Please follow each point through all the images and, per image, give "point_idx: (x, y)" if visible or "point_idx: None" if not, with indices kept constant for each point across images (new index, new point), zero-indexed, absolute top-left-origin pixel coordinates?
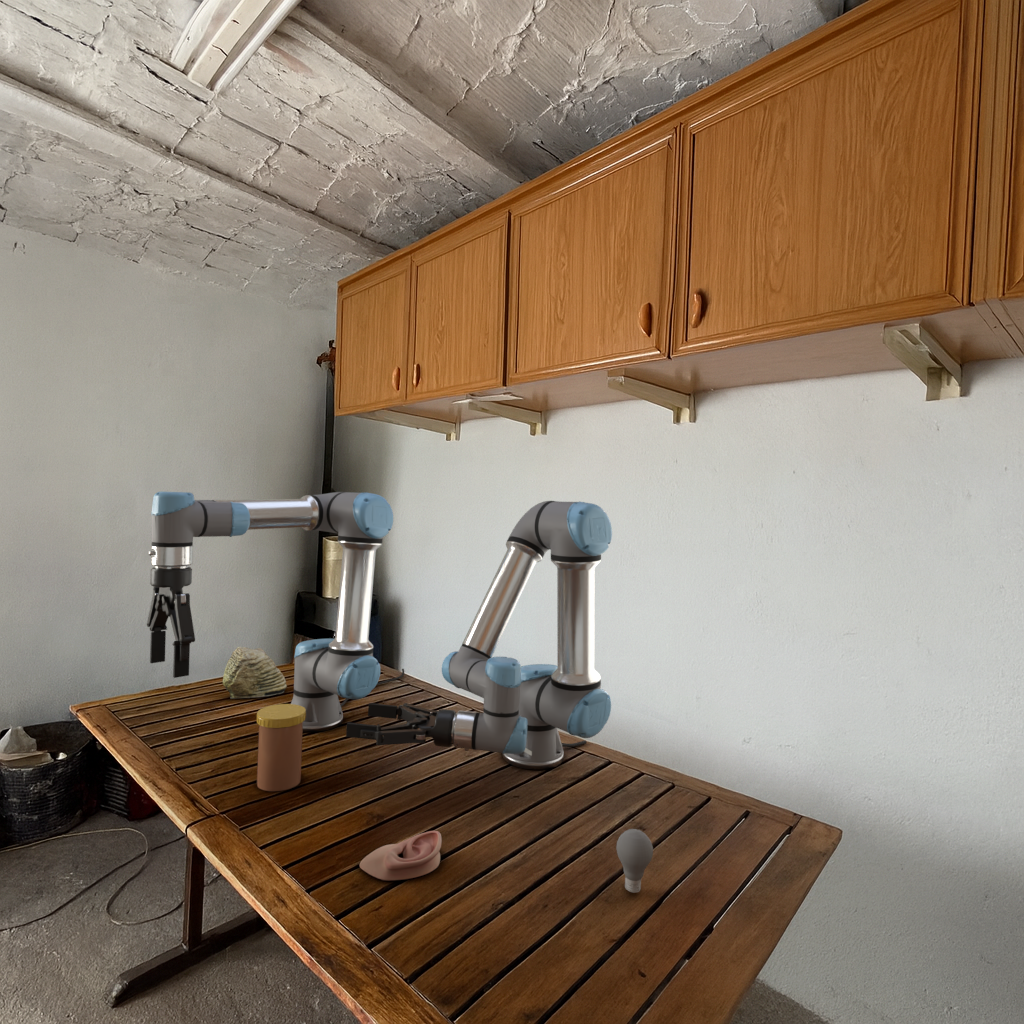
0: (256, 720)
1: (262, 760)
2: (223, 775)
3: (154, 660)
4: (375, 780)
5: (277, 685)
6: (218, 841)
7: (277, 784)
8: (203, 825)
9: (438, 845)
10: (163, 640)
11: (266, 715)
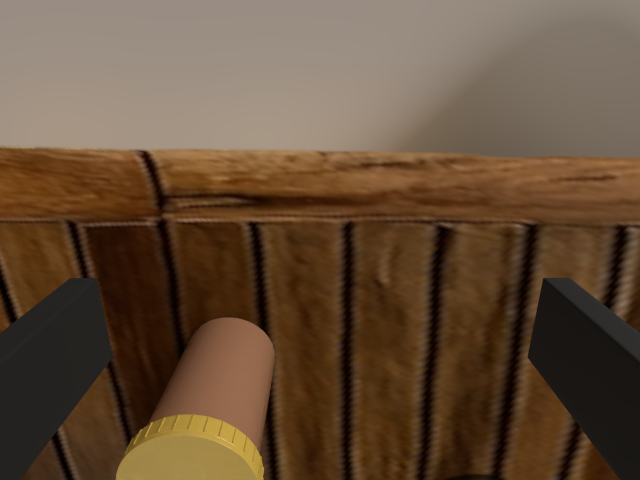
0: (222, 422)
1: (203, 355)
2: (337, 290)
3: (547, 306)
4: None
5: None
6: (43, 172)
7: (187, 344)
8: (127, 174)
9: None
10: (633, 475)
11: (175, 450)
